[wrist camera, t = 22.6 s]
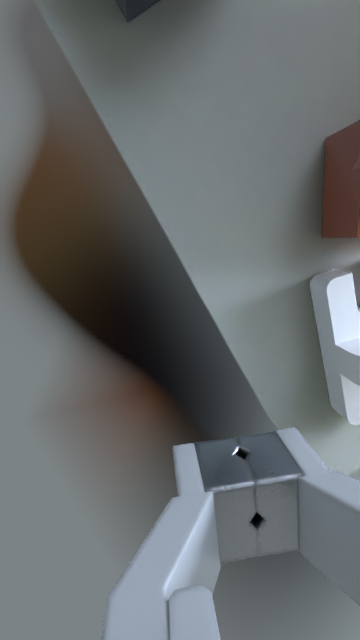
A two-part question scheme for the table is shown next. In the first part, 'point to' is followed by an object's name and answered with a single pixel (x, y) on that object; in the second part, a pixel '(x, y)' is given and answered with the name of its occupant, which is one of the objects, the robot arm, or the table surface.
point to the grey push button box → (134, 7)
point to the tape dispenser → (339, 339)
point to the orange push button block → (342, 184)
